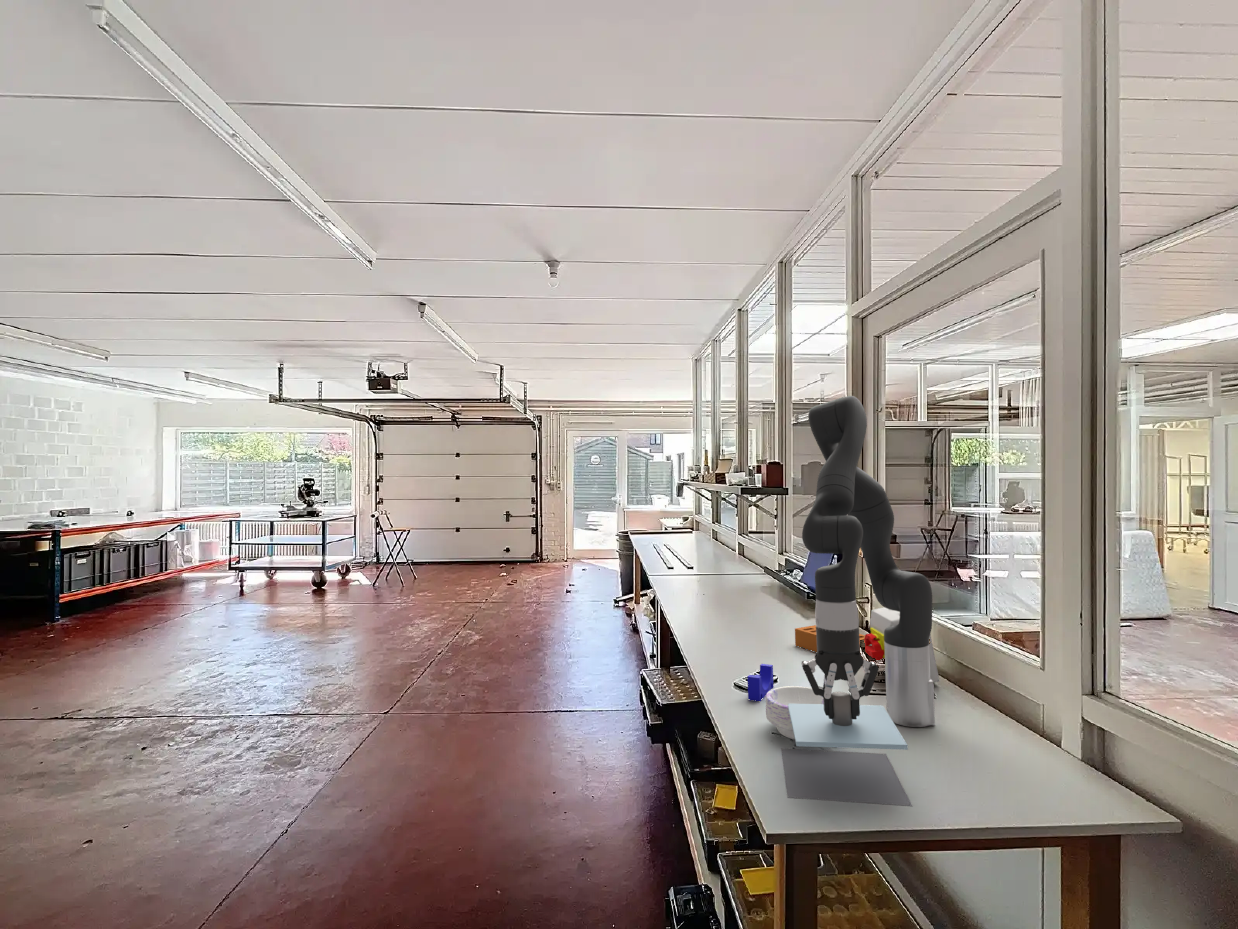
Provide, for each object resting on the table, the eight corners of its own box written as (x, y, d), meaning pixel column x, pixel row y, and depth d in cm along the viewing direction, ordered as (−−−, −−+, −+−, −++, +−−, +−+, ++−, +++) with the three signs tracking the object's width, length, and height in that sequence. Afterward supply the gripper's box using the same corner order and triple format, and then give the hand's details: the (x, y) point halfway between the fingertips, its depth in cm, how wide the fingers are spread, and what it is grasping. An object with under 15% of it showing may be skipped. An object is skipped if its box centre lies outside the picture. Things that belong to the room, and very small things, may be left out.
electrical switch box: (863, 678, 178) (849, 608, 178) (915, 669, 177) (902, 599, 178) (883, 696, 163) (868, 620, 164) (940, 687, 163) (926, 610, 163)
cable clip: (756, 685, 168) (756, 663, 169) (773, 688, 166) (772, 665, 166) (742, 699, 158) (741, 675, 158) (759, 702, 156) (759, 678, 156)
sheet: (883, 709, 123) (881, 679, 123) (907, 749, 105) (905, 714, 106) (788, 707, 126) (786, 678, 127) (796, 746, 109) (794, 712, 109)
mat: (886, 756, 124) (886, 753, 124) (912, 809, 104) (912, 806, 104) (781, 750, 128) (781, 748, 128) (787, 800, 108) (787, 797, 108)
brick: (795, 647, 206) (794, 628, 206) (822, 642, 211) (822, 624, 211) (854, 666, 183) (853, 645, 183) (883, 660, 189) (883, 640, 189)
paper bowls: (855, 740, 132) (854, 701, 132) (795, 753, 126) (794, 713, 126) (808, 715, 146) (807, 681, 146) (752, 727, 140) (751, 691, 141)
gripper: (873, 619, 119) (877, 711, 118) (795, 619, 121) (800, 709, 121) (882, 628, 111) (887, 727, 111) (799, 628, 114) (804, 724, 114)
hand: (841, 717), depth 116 cm, fingers closed on sheet, 3 cm apart
